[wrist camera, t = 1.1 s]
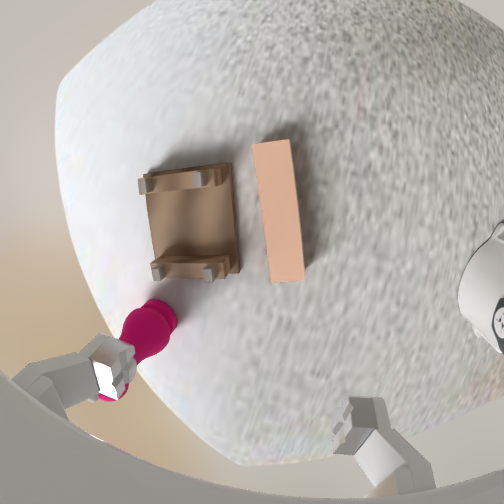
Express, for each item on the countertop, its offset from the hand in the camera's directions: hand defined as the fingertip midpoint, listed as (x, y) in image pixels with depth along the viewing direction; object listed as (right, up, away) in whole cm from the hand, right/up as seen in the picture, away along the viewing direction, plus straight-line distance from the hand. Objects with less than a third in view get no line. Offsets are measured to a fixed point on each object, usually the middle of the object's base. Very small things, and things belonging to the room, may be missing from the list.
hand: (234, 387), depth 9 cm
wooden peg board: (-7, +9, +27) cm, 30 cm away
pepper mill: (-14, -5, +34) cm, 37 cm away
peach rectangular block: (+4, +10, +25) cm, 27 cm away
